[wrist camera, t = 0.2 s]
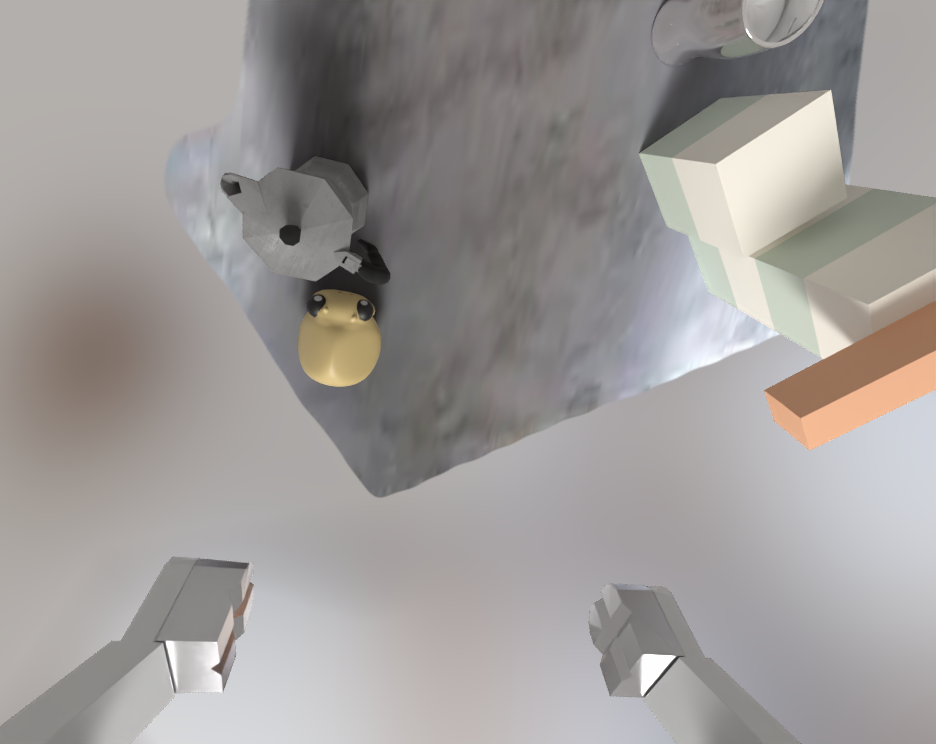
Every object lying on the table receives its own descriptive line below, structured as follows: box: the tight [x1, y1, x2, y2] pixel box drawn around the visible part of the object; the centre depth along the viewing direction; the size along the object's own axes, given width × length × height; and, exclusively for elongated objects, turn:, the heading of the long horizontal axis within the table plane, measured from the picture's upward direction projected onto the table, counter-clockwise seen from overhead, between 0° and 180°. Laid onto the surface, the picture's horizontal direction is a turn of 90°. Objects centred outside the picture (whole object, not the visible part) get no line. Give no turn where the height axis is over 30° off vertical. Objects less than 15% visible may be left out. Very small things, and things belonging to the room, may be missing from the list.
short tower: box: [639, 90, 847, 259], centre depth 45 cm, size 10×10×15 cm
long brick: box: [765, 301, 936, 450], centre depth 34 cm, size 20×4×4 cm, turn 123°
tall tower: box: [688, 184, 936, 359], centre depth 46 cm, size 12×10×26 cm
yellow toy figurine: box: [298, 289, 381, 386], centre depth 52 cm, size 10×12×11 cm
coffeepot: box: [221, 156, 390, 285], centre depth 42 cm, size 15×9×18 cm, turn 53°
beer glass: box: [652, 0, 824, 66], centre depth 38 cm, size 7×7×15 cm
